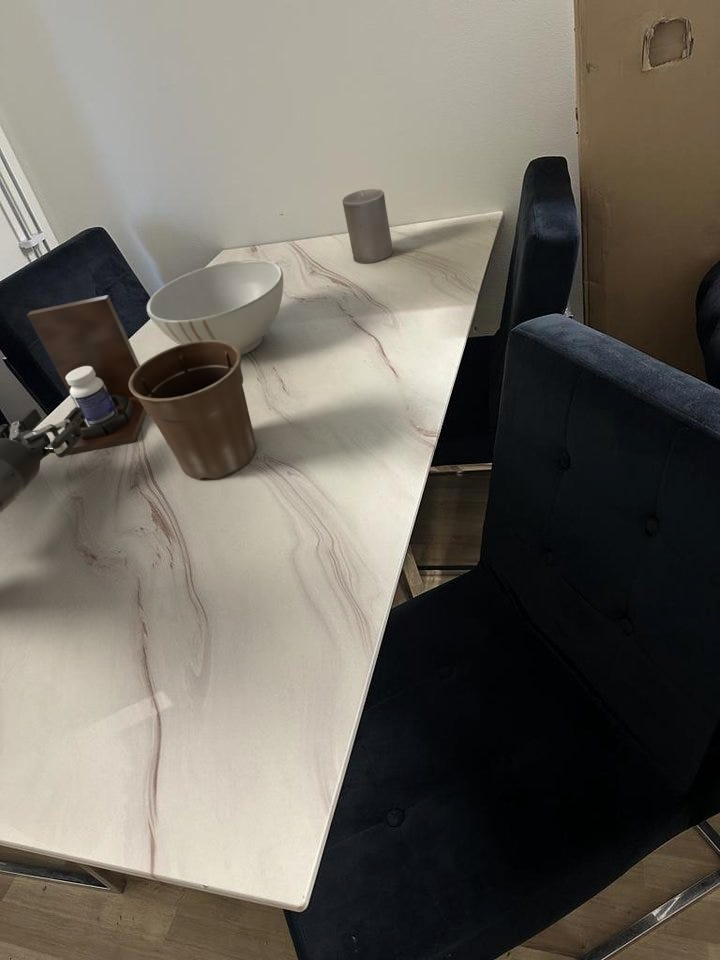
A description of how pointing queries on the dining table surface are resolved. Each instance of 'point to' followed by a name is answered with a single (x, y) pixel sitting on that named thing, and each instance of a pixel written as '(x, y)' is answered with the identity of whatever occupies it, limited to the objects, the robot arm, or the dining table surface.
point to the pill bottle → (91, 396)
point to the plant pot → (199, 406)
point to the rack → (94, 363)
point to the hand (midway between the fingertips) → (58, 412)
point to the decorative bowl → (220, 303)
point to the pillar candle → (368, 225)
